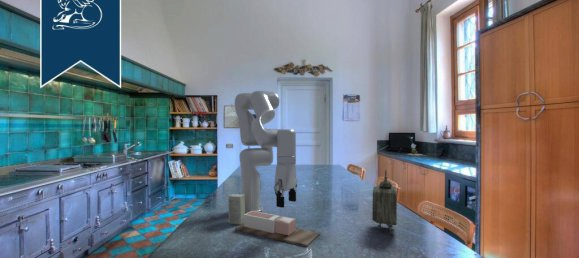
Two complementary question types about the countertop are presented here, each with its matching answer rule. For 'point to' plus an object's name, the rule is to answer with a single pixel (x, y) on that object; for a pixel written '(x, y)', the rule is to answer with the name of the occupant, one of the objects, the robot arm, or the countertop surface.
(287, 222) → the stub
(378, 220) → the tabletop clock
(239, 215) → the skincare box
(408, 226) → the countertop surface
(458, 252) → the countertop surface
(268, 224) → the white box with vents
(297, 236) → the board
